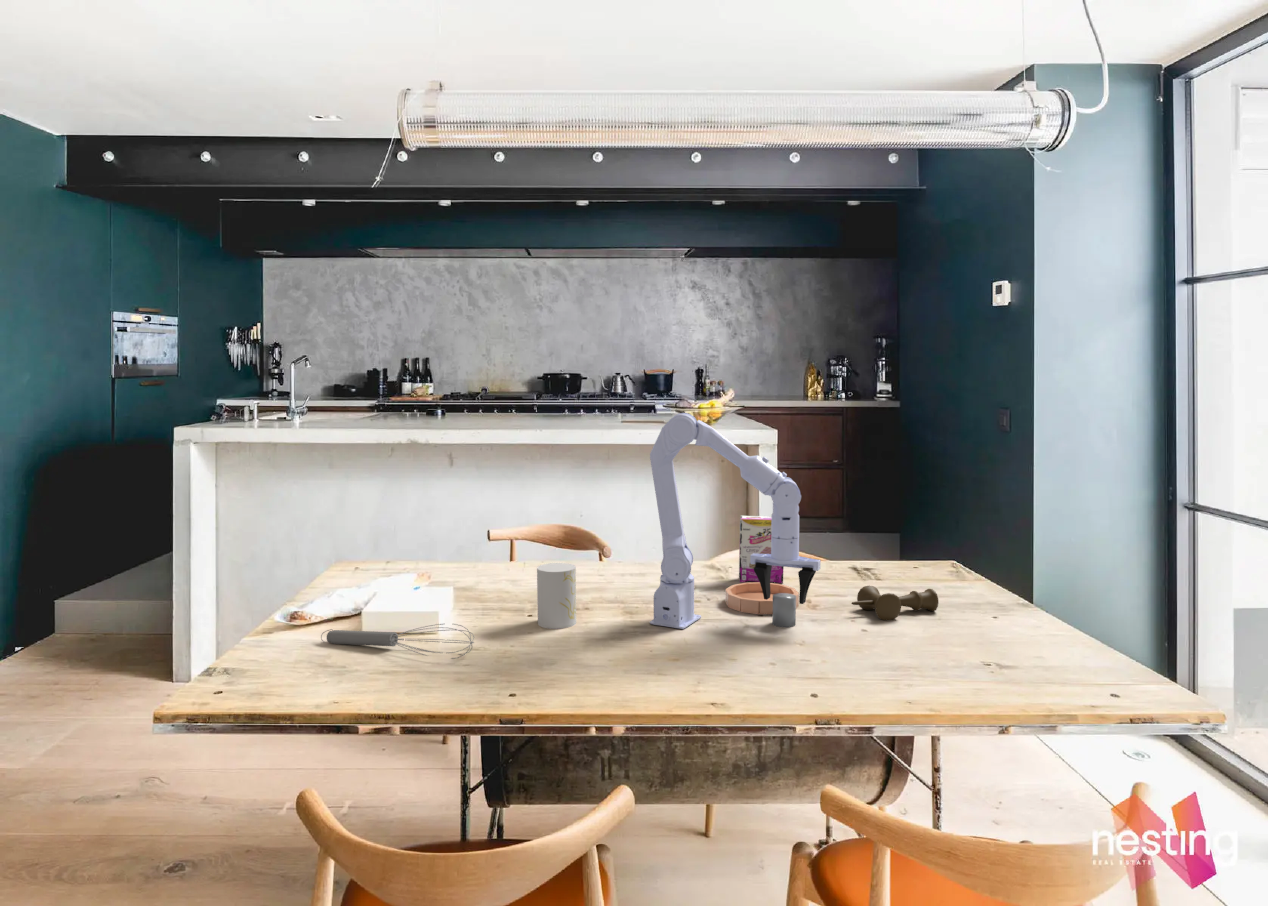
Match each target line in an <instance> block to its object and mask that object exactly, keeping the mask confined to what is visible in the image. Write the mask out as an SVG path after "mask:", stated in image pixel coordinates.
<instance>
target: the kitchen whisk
mask: <svg viewBox="0 0 1268 906" xmlns="http://www.w3.org/2000/svg"><path fill="white" fill-rule="evenodd" d="M440 625H441V627H439V626H440ZM443 625H444V623H436V624H431V625H425V626H421V627H418V628H413V629H410V630H405V631H403V632H400V633H397V632H395V631H375V630H373V631H371V630H368V631H367V630H347V629H346V630H345V629H344V630H343V629H334V630H333V629H332V628H331V629H328V630H325V631H323V632H322V633H321V635H320V639H321V641H322V642H323V643H325V641H324V640H323V634H325V633H326V632H327V634H326V642H327V643H329V644H332V645H334V644H335V645H351V646H352V645H353V646H356V645H357V646H375V647H376V646H377V647H380V646H382V647H385V646H386V647H395V646H399V647H401V648H403V649H406V650H408V651H410V652H413V653H417V654H420V655H423V656H427V657H428V656H429V655H428V654H423V653H421V652H426V653H432V654H434V653H435V654H442V652H440V651H439V652H438V651H437V652H436V651H433V650H432V651H431V650H427V649H423V648H419V647H415V646H411V645H407V644H404V643H400V642H398V641H403V638H399V637H406V636H411V635H416V634H424V633H425V634H426V633H431V632H432V633H433V632H434V630H429V629H432V627H433V626H434V629H439V630H435V632H441V631H443V632H445V631H446V632H447V629H448V630H454V631H458V632H461V633H463V634H464V635H465V636H467V637H468V639H469V641H468V640H463V641H462V640H459V639H448V641H444V639H440V638H439V639H438V638H436V639H435V638H416V639H406V641H408V642H409V641H411V642H420V641H424V643H425V642H427V643H428V642H429V643H439V641H443V643H444V644H445V643H451V644H463V643H469V644H468V646H466V647H464V648H463V649H461V650H456V651H452V652H447V654H454V653H458V652H462V651H464V650H465V649H467V650H466V651H465V652H464V653H458V654H457V655H460V656H457V657H451V658H450V659H453V660H454V659H459V658H461V657H463V656H465V655H467V654H468V653H470V652H471V651H472V649H473V644H475V642H474V640H475V635H474V633H473V632H470V630H469V629H468V628H467V627H465V626H464V625H461V624H457V623H453V625H455V626H458V627H459V626H460V627H463V629H465V630H463V629H457V628H454V627H453V628H452V627H442V626H443ZM435 626H438V627H435ZM426 627H428V628H426ZM421 630H423V631H421ZM424 630H429V631H424ZM416 631H419V632H416ZM466 632H468V634H469V635H468V634H466ZM407 633H408V634H407ZM472 636H473V639H472ZM409 648H410V649H409ZM412 649H413V650H412ZM415 650H417V651H415ZM418 651H421V652H418Z"/></svg>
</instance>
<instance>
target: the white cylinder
mask: <svg viewBox="0 0 1268 906" xmlns="http://www.w3.org/2000/svg"><path fill="white" fill-rule="evenodd" d="M576 568H577V566H576V565H575V564H572V563H567V562H549V563H544V564H540V565H538V566H537V567H536V579H537V580H536V586H537V587H536V589H537V590H536V591H537V593H536V595H537V625H538V626H539V627H541V628H543V629H551V630H556V629H557V630H558V629H567V628H571V627H573V626H575V625H576V624H577V569H576Z"/></svg>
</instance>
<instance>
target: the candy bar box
mask: <svg viewBox="0 0 1268 906" xmlns="http://www.w3.org/2000/svg"><path fill="white" fill-rule="evenodd" d="M771 516H772V515H770V516H766V515H740V517H739V547H738V548H739V555H738V556H739V557H738V558H739V559H738V581H739V583H748V582H759V579H758V577H757V575H756V573H755V572H754V567H755V564H750V555H752V554H753V553H755V554H771ZM770 583H775V584H784V567H783V566H774V565H772V568H771V578H770Z"/></svg>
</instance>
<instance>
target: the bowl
mask: <svg viewBox="0 0 1268 906" xmlns="http://www.w3.org/2000/svg"><path fill="white" fill-rule="evenodd" d="M770 590H771V593H770V598H769V599H767V600H766V599H764V596H763V591H762V587H761V584H760V582H740V583H736V584H732V585H730V586H729V587H727V588H725V600H724V601H725V604H726V606H727V608H729V609H732V610H734V611H738V612H739V613H744V614H745V613H746V614H754V615H772V614H773V595H774V594H777V593H789V594H793V595H795V596H796V609H798V608H799V605H800V603H799V595H800V592H798V590H797V589H796V588H794V587H791V586H789V585H785V584H782V583H770Z"/></svg>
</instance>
